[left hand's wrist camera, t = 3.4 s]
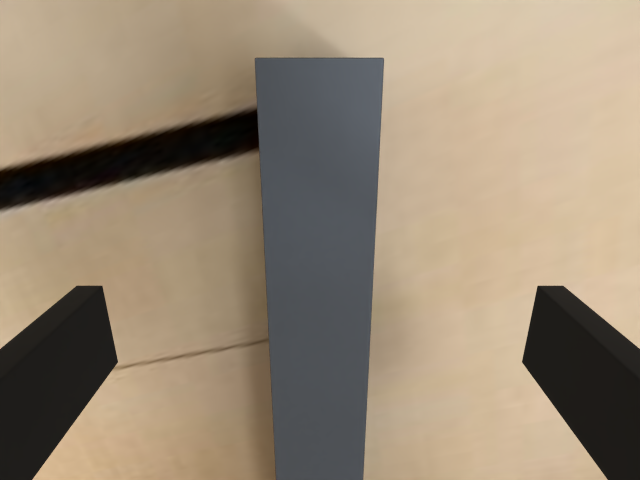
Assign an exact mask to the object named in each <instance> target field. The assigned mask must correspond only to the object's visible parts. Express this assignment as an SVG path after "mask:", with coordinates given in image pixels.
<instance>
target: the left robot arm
mask: <svg viewBox="0 0 640 480" xmlns="http://www.w3.org/2000/svg"><path fill="white" fill-rule="evenodd" d="M117 363H118V360H117V355H116V350H115V346H114V341H113V336H112V331H111V326H110V321H109V316H108V311H107V307H106V302H105V297H104V292H103V287H102V286H76V287H75V288H74V289H72V290H71V291H70V292H69V293H68V294H66V295H65V296H64V297H63V298H62V299H60V300H59V301H58V302H57V303H55V304H54V305H53V306H52V307H51V308H49V309H48V310H47V311H46V312H45V313H43V314H42V315H41V316H40V317H39V318H37V319H36V320H35V321H34V322H32V323H31V324H30V325H29V326H28V327H26V328H25V329H24V330H23V331H22V332H20V333H19V334H18V335H17V336H16V337H14V338H13V339H12V340H11V341H9V342H8V343H7V344H6V345H5V346H3V347H2V348H1V349H0V480H32V479H33V478H34V476H35V475H36V474H37V472H38V471H39V470H40V468H41V467H42V465H43V464H44V463H45V461H46V460H47V459H48V457H49V456H50V454H51V453H52V452H53V450H54V449H55V448H56V446H57V445H58V443H59V442H60V441H61V439H62V438H63V437H64V435H65V434H66V433H67V431H68V430H69V428H70V427H71V426H72V424H73V423H74V422H75V420H76V419H77V417H78V416H79V415H80V413H81V412H82V411H83V409H84V408H85V406H86V405H87V404H88V402H89V401H90V400H91V398H92V397H93V396H94V394H95V393H96V391H97V390H98V389H99V387H100V386H101V385H102V383H103V382H104V380H105V379H106V378H107V376H108V375H109V374H110V372H111V371H112V369H113V368H114V367H115V365H116V364H117ZM522 363H523V364H524V365H525V367H526V368H527V369H528V371H529V372H530V374H531V375H532V376H533V378H534V379H535V380H536V382H537V383H538V385H539V386H540V387H541V389H542V390H543V391H544V393H545V394H546V396H547V397H548V398H549V400H550V401H551V402H552V404H553V405H554V406H555V408H556V409H557V411H558V412H559V413H560V415H561V416H562V417H563V419H564V420H565V422H566V423H567V424H568V426H569V427H570V428H571V430H572V431H573V433H574V434H575V435H576V437H577V438H578V439H579V441H580V442H581V443H582V445H583V446H584V448H585V449H586V450H587V452H588V453H589V454H590V456H591V457H592V459H593V460H594V461H595V463H596V464H597V465H598V467H599V468H600V470H601V471H602V472H603V474H604V475H605V476H606V478H607V479H608V480H640V349H639V348H638V347H637V346H635V345H634V344H633V343H632V342H631V341H629V340H628V339H627V338H626V337H624V336H623V335H622V334H621V333H620V332H618V331H617V330H616V329H615V328H614V327H612V326H611V325H610V324H609V323H608V322H606V321H605V320H604V319H603V318H601V317H600V316H599V315H598V314H597V313H595V312H594V311H593V310H592V309H591V308H589V307H588V306H587V305H586V304H585V303H583V302H582V301H581V300H580V299H578V298H577V297H576V296H575V295H574V294H572V293H571V292H570V291H569V290H568V289H566V288H565V287H564V286H538V287H537V292H536V297H535V302H534V307H533V311H532V316H531V321H530V326H529V331H528V336H527V341H526V346H525V350H524V355H523V360H522Z"/></svg>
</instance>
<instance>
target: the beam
mask: <svg viewBox="0 0 640 480" xmlns="http://www.w3.org/2000/svg"><path fill="white" fill-rule="evenodd" d="M383 70H384V58H255V73H256V93H257V113H258V132H259V152H260V172H261V192H262V211H263V231H264V251H265V270H266V290H267V310H268V329H269V349H270V369H271V389H272V408H273V428H274V448H275V467H276V480H363V471H364V451H365V431H366V411H367V391H368V371H369V351H370V331H371V310H372V290H373V270H374V250H375V230H376V210H377V190H378V170H379V150H380V130H381V110H382V90H383Z"/></svg>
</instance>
